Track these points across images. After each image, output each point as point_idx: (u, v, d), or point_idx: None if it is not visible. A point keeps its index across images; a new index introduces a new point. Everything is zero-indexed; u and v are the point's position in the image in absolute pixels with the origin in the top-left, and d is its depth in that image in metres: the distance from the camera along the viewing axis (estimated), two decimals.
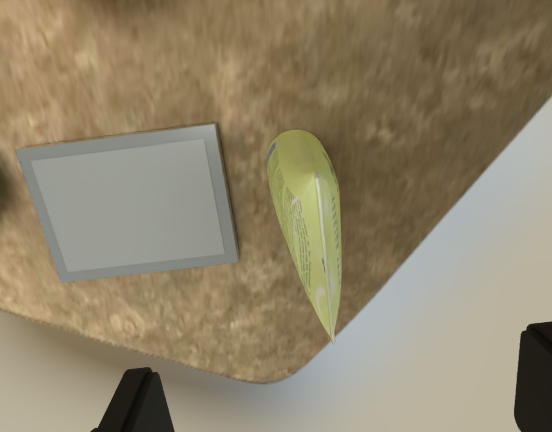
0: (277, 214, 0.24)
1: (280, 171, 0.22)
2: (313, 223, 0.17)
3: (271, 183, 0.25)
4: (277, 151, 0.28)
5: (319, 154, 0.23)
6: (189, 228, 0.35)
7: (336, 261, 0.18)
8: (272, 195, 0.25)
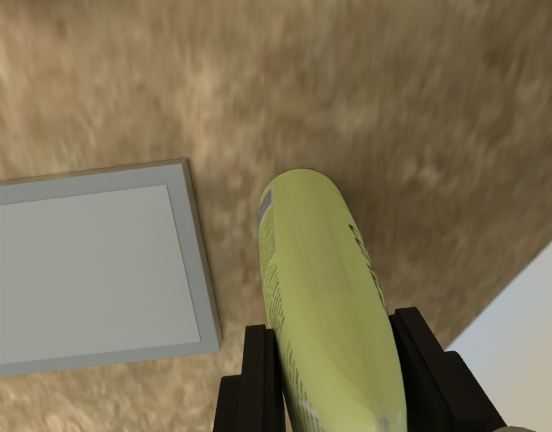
0: None
1: (277, 277, 0.12)
2: None
3: (262, 278, 0.15)
4: (273, 214, 0.17)
5: (347, 239, 0.13)
6: (149, 307, 0.24)
7: None
8: (264, 301, 0.15)
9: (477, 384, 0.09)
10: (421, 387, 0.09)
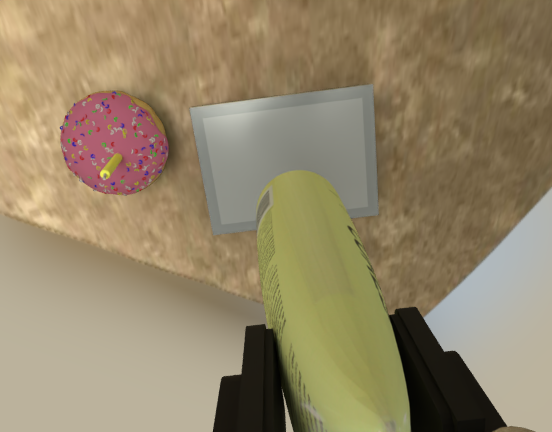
0: None
1: (277, 279, 0.12)
2: None
3: (262, 280, 0.15)
4: (272, 216, 0.17)
5: (347, 241, 0.13)
6: (338, 182, 0.38)
7: None
8: None
9: (477, 384, 0.09)
10: (421, 387, 0.09)
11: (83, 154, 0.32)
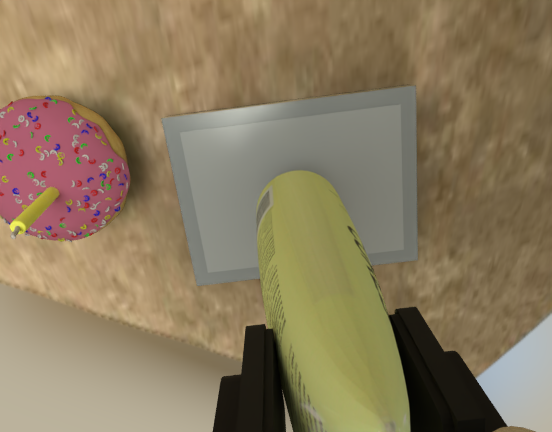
0: None
1: (277, 279, 0.12)
2: None
3: (262, 281, 0.15)
4: (272, 216, 0.17)
5: (347, 241, 0.13)
6: (365, 217, 0.28)
7: None
8: None
9: (477, 384, 0.09)
10: (421, 387, 0.09)
11: (3, 187, 0.22)
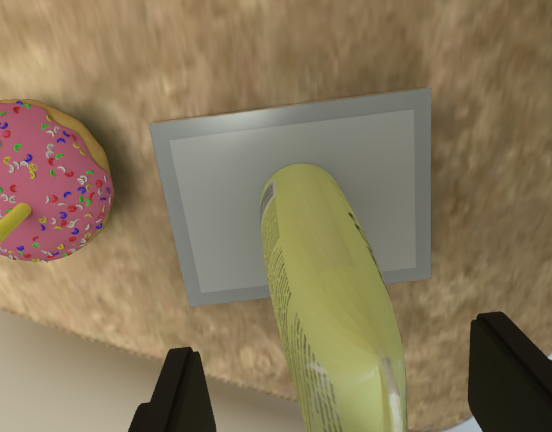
0: (277, 325, 0.14)
1: (282, 259, 0.13)
2: None
3: (267, 264, 0.16)
4: (276, 205, 0.18)
5: (348, 224, 0.14)
6: (374, 233, 0.26)
7: None
8: (268, 285, 0.15)
9: None
10: (530, 399, 0.08)
11: None
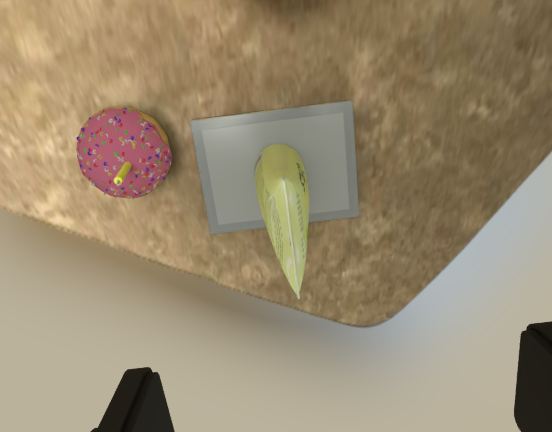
0: (261, 210, 0.31)
1: (262, 177, 0.30)
2: (283, 212, 0.24)
3: None
4: (262, 162, 0.35)
5: (292, 164, 0.31)
6: (323, 187, 0.42)
7: (300, 240, 0.25)
8: (257, 196, 0.32)
9: None
10: None
11: (97, 161, 0.36)
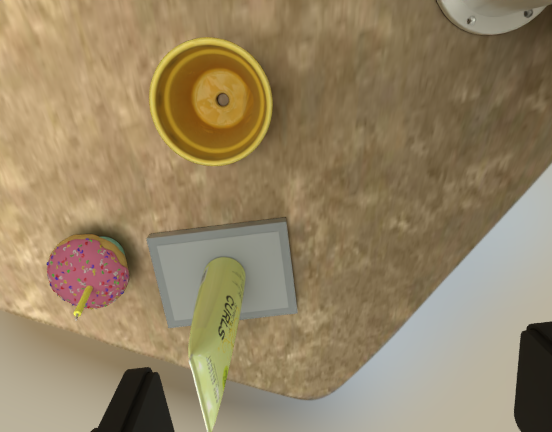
0: None
1: (193, 319, 0.36)
2: None
3: None
4: (201, 288, 0.41)
5: (219, 305, 0.37)
6: (264, 290, 0.49)
7: (212, 391, 0.31)
8: None
9: None
10: None
11: (63, 284, 0.43)
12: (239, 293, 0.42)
